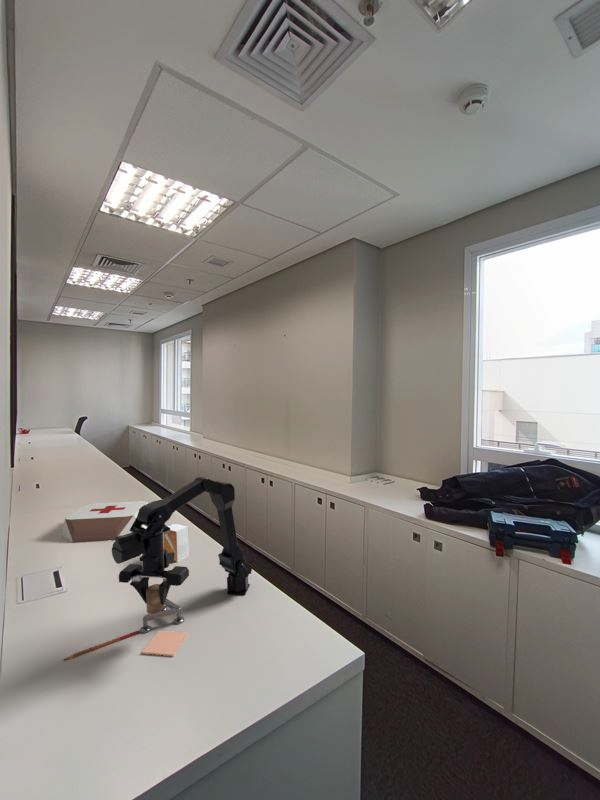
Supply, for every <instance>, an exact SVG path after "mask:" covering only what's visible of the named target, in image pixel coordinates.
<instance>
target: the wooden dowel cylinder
mask: <svg viewBox="0 0 600 800" xmlns="http://www.w3.org/2000/svg"><path fill="white" fill-rule="evenodd" d="M160 584H161V583H154V584H152V585H149V587H148V588H147V589H146V603H145V604H146V612H147V614H155V613H158V612H160V611H162V610H163V609H164V606H165V605H162V604H161V599H160V592H159V585H160Z"/></svg>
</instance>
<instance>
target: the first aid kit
mask: <svg viewBox="0 0 600 800" xmlns="http://www.w3.org/2000/svg"><path fill="white" fill-rule="evenodd" d="M148 503H149V502H148V501H145V500H142V501H140V500H139V501H138V500H137V501H122V502H121V501H119V502H103V503H102V502H100V503H98V502H97V503H89V504H85V505H83V506H82V507H81V508H79V509H77V510H76V511H75V512H73V513H71V514H70V515H69V516H68V517H66V518H65V519H64V523H63V526H62V527H63V528H62V531H61V537H63V538H65V539H66V540H67V541H69V542H71V543H72V544H76V543H91V542H95V543H96V542H106V541H107V542H108V540H111V541H115V538H116V537H117V536H122V535H126V534H129V533H132V532H131V531H130V528H131V526H132V525H133V523H134V521H135V519H136V518H137V516H138V512H139V509H140V508H141V507H142V506H144V505H146V504H148ZM141 527H143V528H145V529H146V528H147V526H145V525H142V526H141Z"/></svg>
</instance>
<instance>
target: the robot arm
mask: <svg viewBox="0 0 600 800" xmlns="http://www.w3.org/2000/svg"><path fill="white" fill-rule="evenodd" d="M205 492H206V493H208V494H209V498H210V500H211V502H212V504H213V505H214V506H215V508H216V510H217V516H218V517H217V518H218V522H219V528H220V534H221V540H222V545H223V548H222V550H221V552H220V553H218V555H217V556H218V559H219V563H218V564H219V566H221V568H223V569H224V572H225V573H226V572H227V577H226V589H227V591H226V594H228V595H238V596H239V595H240V596H241V595H242V596H245V595H246V594H247V592H248V590H249V588H250V587H251V584H250V583H249V575H251V574H252V571H253V567H252V566H251V565H250V564H249V563H248V562H247V560H246V557H245V554H244V552H243V550H242V548H241V547H240V546H239V544H238V538H237V530H236V524H235V518H234V511H233V505H234V502H235V500H236V497H235V496H236V495H235V494H236V491H235V487H234V485H233V484H232V483H230V482H225V481H221V480H220V481H219V480H212V479H210V478H208V477H204V476H198V477H195V479H194V480H192V481H191V482H189V483H188V484H186V485H184V486H183V487H182V488H179V489H178V490H177V491H175V492H173V493H171V494H170V495H168V496H167V497H164V498H161V499H159V500H154V501H151V502H148V504H146V505H144V506H142V507H141V508H140V509H139V512H138V516H137V518H136V519H135V521H134V523H133V525H132V526H131V528H130V531H131V532H132V533H129V534H126V535H122V536H117V537H116V538H115V540H114V542H113V544H112V547H111V555H112V558H113V561H114V562H115V563H116V564H117V565H119V564H122V563H124V562H128V561H130V560H132V559H135V558H138V557H139V561H140V562H142V564H140V563H129V564H128V565H127V566H125V568H123V569H122V570H120V571H119V573H118V582H119V583H128V584H129V585H130V586H132V587H133V588H134V589H135V591H136V592H137V593H138V595H139V596H140V597H141V599H142V600H143V602H144V604H146V589H147V588H148V587H149V586H150V585H149V580H150V578H151V579H152V578H154V579H162V582H161V583H159V584H160V585H159V592H160V599H161V604H162V605H164V603H165V601H166V598H167V599H168V593H169V591H170V588H171V586H173V587H174V586H176V587H178V586H181V585H183V583H184V582H185V581H186V580H187V579H188V577H189V576H190V570H189V568H188V567H187V566H178V565H175V566H174V567H173V568H172V569H168V567H170V564H174V562H175V561H174V555H175V552H167V551H166V549H164V535H163V532H166V531H169V530H170V528H169V527H167V526H168V525H166V523H167V522H168V521H169V520H170V519H171V517H172V515H173V513H175V512H176V511H178V510H179V509H180V508H182V507H183V506H184V505H187V504H188V503H189V502H191V501H192V500H193V499H195V498H197V497H199V496H200V495H202V494H203V493H205ZM142 525H145V526H147V528H146V529H145V528H143V527H141V526H142ZM166 569H168V570H166ZM130 581H131V582H130ZM129 582H130V583H129ZM164 606H165V605H164Z"/></svg>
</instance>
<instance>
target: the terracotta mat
mask: <svg viewBox="0 0 600 800" xmlns="http://www.w3.org/2000/svg"><path fill="white" fill-rule="evenodd" d="M188 635H189V632H186V631H185V632H184V631H172V630H171V631H170V630H168V631H167V630H158V631H157V632H156V634H155V635H154V636H153V637H152V639H151V640H150V641H149V642H148V644H147V645H146V646H145V648H143V650H142V651H141V655H149V654H152V655H151V656H161V655H163V656H164V657H174V656H175V655H176V653H177V652H178V651H179V650H180V649H179V648H180V647H181V646H182V644H183V643H184V641H185V640H186V639H187V637H188ZM153 654H155V655H153ZM163 656H162V657H163Z"/></svg>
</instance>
